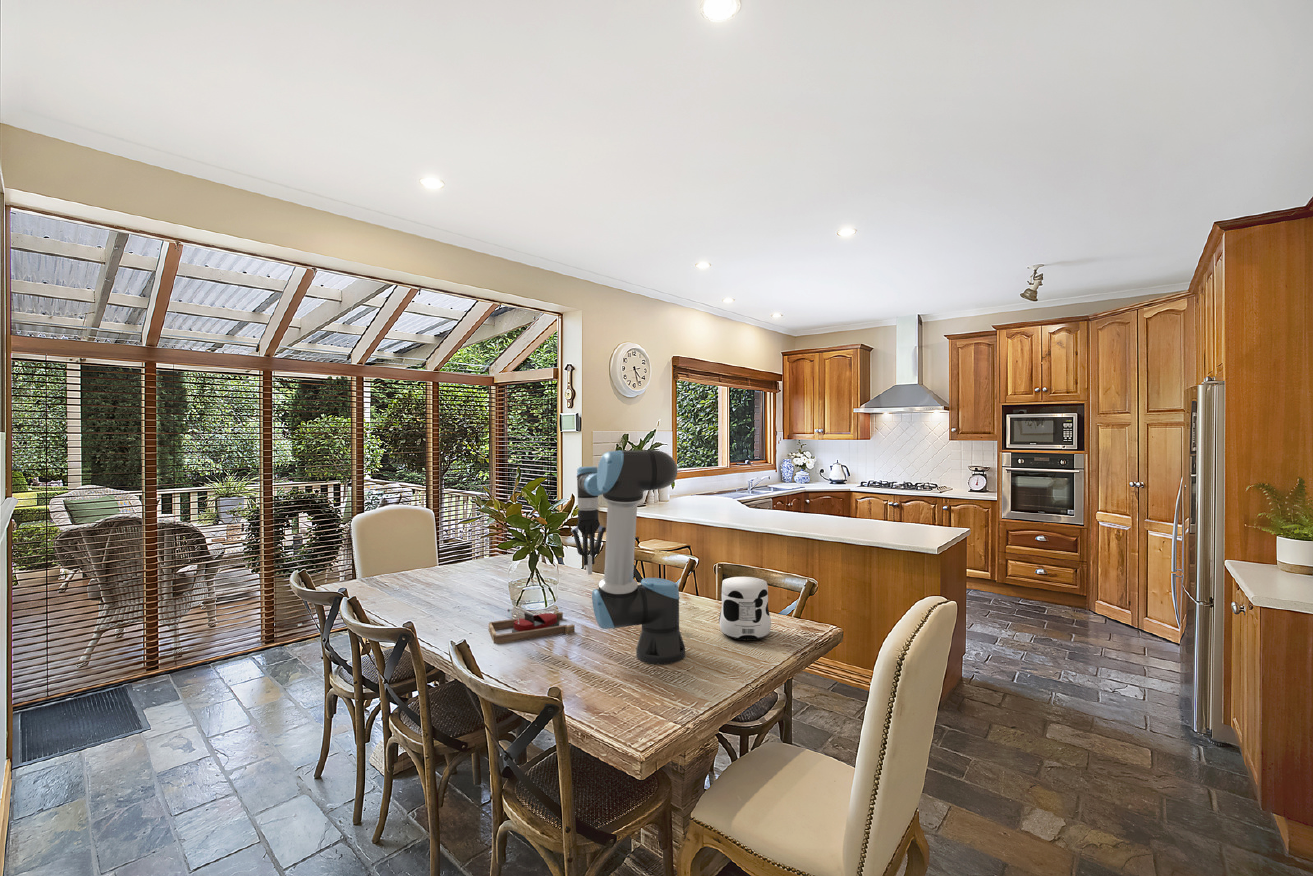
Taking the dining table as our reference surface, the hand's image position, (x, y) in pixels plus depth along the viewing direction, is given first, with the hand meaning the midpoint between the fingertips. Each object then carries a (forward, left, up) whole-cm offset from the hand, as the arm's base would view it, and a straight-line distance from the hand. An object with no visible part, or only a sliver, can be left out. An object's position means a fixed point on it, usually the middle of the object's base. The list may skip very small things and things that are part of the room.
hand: (589, 573), depth 209 cm
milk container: (-36, -44, -18) cm, 59 cm away
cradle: (0, +21, -18) cm, 28 cm away
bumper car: (0, +21, -18) cm, 27 cm away
